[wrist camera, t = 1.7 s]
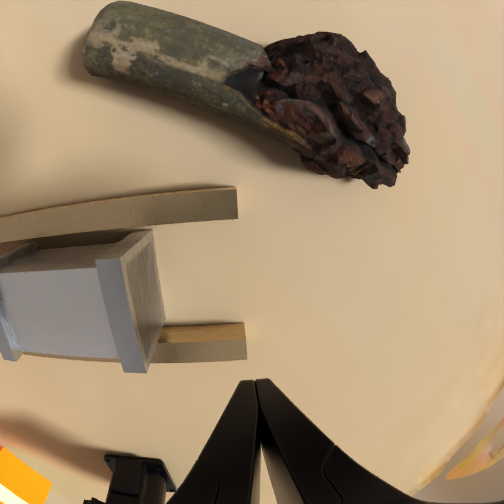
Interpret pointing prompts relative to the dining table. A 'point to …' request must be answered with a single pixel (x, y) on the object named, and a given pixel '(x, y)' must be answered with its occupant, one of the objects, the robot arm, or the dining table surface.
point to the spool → (83, 301)
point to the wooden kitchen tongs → (134, 215)
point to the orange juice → (20, 482)
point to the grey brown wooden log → (262, 86)
